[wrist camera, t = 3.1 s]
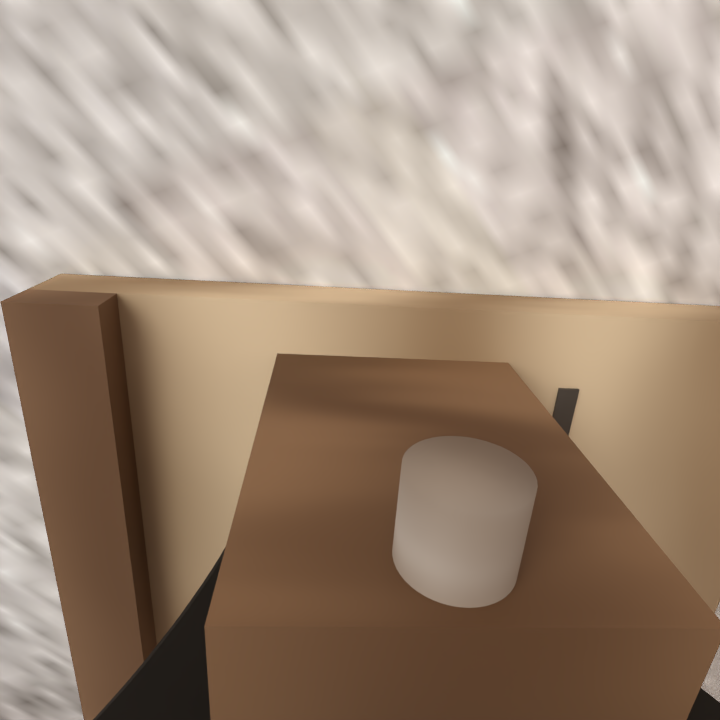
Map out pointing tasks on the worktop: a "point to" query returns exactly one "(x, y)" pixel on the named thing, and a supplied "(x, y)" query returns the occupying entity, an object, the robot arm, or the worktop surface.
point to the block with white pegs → (439, 561)
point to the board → (245, 403)
